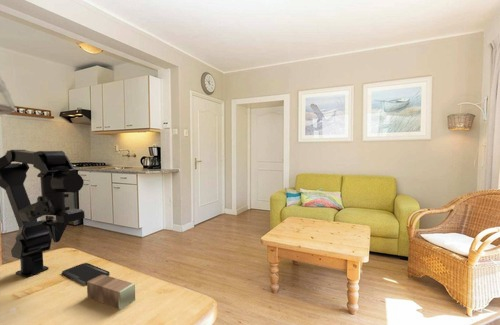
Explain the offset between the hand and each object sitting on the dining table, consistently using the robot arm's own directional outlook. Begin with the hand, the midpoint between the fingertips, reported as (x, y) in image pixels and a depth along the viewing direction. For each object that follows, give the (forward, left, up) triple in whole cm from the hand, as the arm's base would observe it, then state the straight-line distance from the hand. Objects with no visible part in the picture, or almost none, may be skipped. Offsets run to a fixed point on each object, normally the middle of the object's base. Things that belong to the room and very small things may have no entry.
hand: (56, 241), depth 78 cm
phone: (+4, +6, -13) cm, 15 cm away
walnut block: (+17, 0, -10) cm, 20 cm away
